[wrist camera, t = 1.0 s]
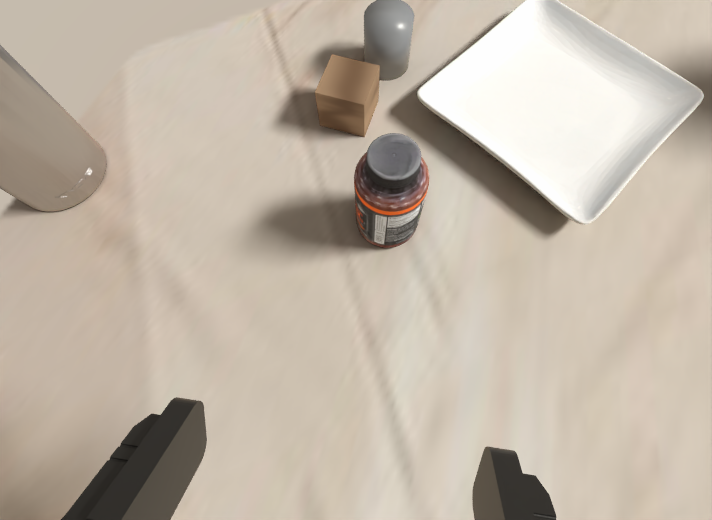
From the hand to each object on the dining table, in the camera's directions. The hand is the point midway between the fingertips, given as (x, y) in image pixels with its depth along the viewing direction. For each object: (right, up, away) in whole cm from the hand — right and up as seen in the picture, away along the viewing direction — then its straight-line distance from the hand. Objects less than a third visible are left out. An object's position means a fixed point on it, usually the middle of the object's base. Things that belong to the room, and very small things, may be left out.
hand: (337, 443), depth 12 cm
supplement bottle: (+3, +9, +29) cm, 30 cm away
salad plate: (+21, +21, +33) cm, 45 cm away
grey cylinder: (+4, +28, +36) cm, 45 cm away
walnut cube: (0, +21, +33) cm, 40 cm away
